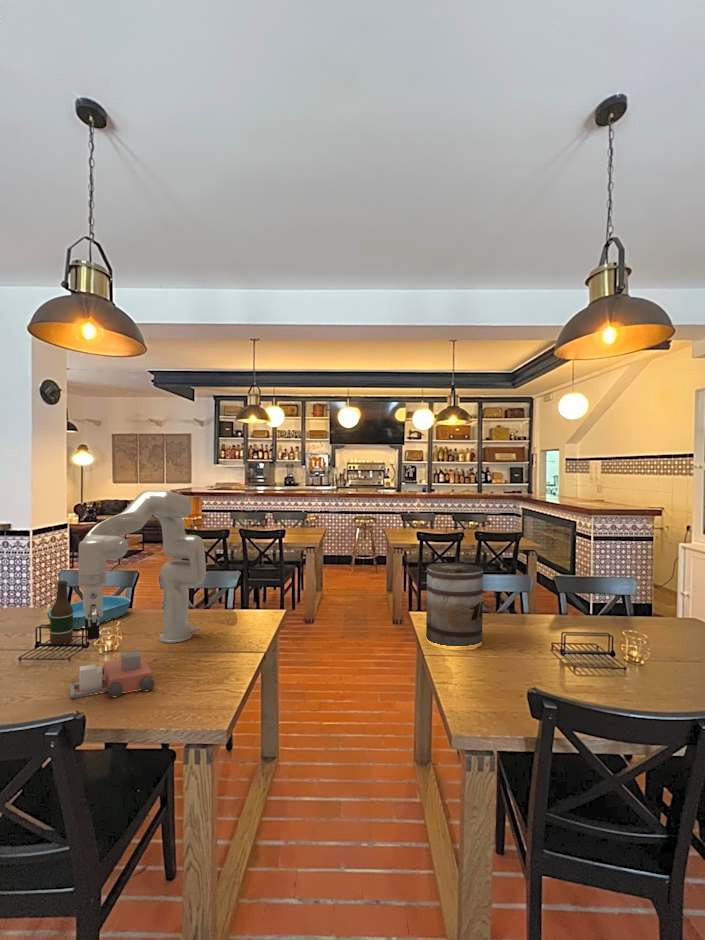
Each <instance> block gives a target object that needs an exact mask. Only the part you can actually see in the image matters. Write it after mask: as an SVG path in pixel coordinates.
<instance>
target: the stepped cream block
mask: <svg viewBox="0 0 705 940" xmlns="http://www.w3.org/2000/svg"><path fill="white" fill-rule="evenodd" d="M78 679H79V680H78V681H79V682H78V683H79V688H78V689H79V690H80V691H79V692H84V691H89V690H94V689H100V688H103V684H102V679H103V673H102V666H101V665H100V666H97V664H95V663H93V664H87V665H80V666H79V678H78Z"/></svg>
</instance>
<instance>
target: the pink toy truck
mask: <svg viewBox="0 0 705 940" xmlns="http://www.w3.org/2000/svg"><path fill="white" fill-rule="evenodd" d="M120 654H121V658H120V660H118V659H117V660H114V661H113V660H112V661H107V662H104V663H103V667H101V669H102V676H103V677H102V683H104V682H106V683H104V684H105V686H107V687H105V686H104V687H102V688H100V689H94V690H89V691H84V692H80V691H79V692H76V689H79V688H78V687H79V682H75V683H70V684H68V686H69V687H68V688H69V689H70V690H69V696H70V698H76V697H81V696H86V695H90V694H95V693H100V692H105V691H107V694H108V697H109V696H110V697H109V698H112V697H113V696H118V695H120V696H121V695H123V694H122V692H128V691H133V690H139V689H141V690H142V692H145V690H150V691H151V690H153V688H154V686H155V680H153V678H152V675H153V673H152V671H151V668H150V666H149V665H148V663H147V661H146V659H145V657H144V656H141V653H140V652H139V650H134V651H129V652H128V651H127V652H122V653H120ZM74 688H76V689H74ZM107 689H108V690H107ZM86 697H87V696H86ZM118 697H119V696H118ZM81 698H82V697H81ZM76 699H77V698H76Z"/></svg>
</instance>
